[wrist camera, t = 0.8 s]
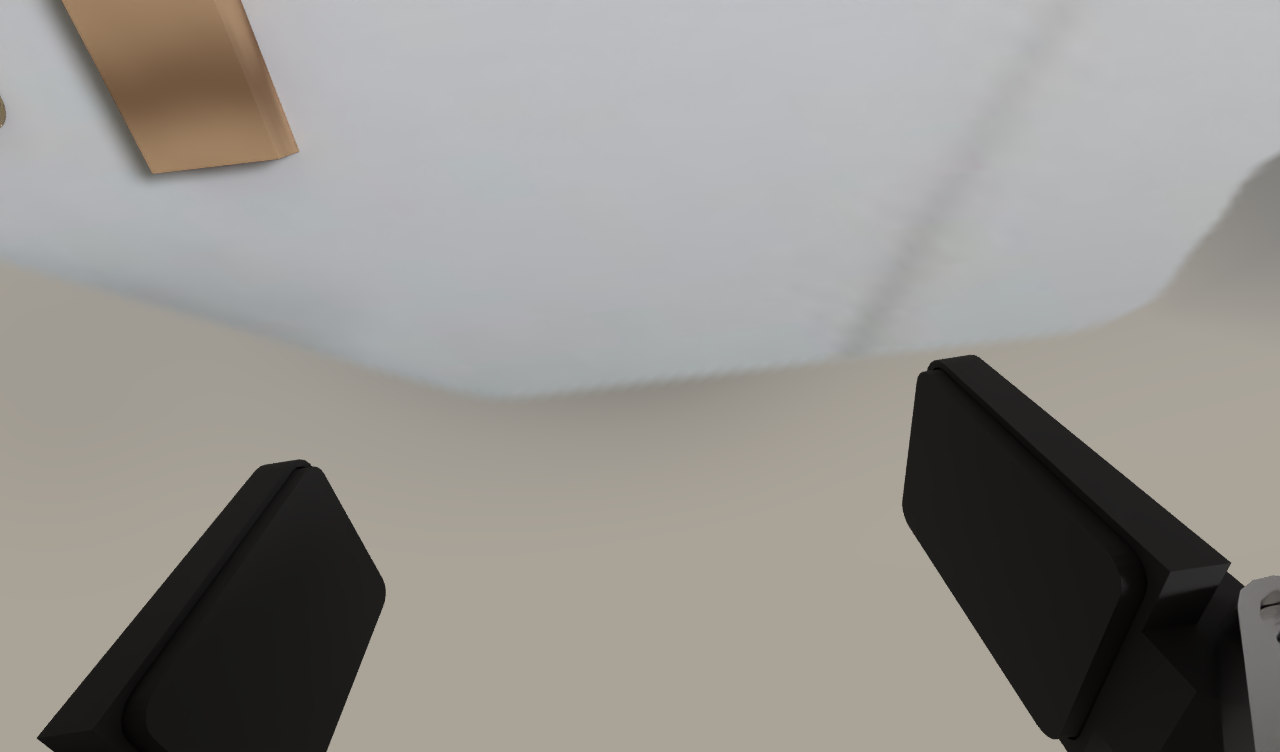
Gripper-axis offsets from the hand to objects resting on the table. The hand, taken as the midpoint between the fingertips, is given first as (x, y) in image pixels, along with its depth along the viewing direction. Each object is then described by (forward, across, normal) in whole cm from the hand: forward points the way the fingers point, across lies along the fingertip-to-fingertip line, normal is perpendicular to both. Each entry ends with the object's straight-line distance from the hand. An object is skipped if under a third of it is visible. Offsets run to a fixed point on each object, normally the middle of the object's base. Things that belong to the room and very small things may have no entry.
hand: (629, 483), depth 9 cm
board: (+25, +18, -8) cm, 32 cm away
